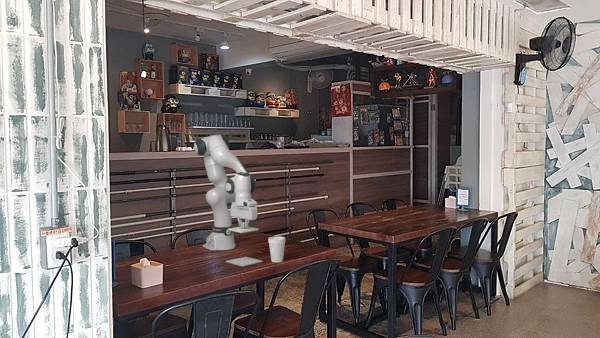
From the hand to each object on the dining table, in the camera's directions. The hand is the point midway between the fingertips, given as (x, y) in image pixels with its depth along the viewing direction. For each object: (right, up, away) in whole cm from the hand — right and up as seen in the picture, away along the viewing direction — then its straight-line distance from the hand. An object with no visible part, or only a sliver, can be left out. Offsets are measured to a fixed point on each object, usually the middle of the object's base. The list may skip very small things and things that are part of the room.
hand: (243, 226), depth 275 cm
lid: (0, -2, 0) cm, 2 cm away
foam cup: (+19, -20, +2) cm, 27 cm away
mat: (0, -20, +1) cm, 20 cm away
